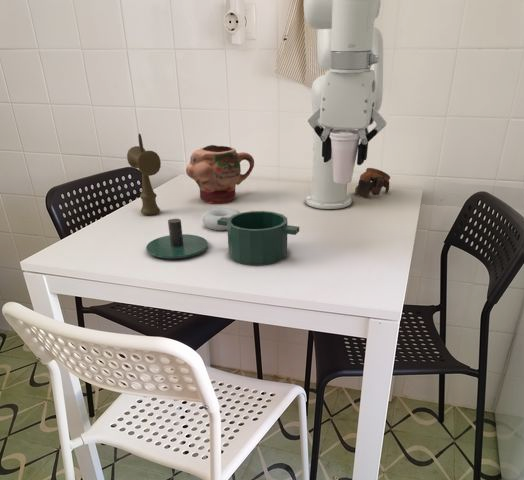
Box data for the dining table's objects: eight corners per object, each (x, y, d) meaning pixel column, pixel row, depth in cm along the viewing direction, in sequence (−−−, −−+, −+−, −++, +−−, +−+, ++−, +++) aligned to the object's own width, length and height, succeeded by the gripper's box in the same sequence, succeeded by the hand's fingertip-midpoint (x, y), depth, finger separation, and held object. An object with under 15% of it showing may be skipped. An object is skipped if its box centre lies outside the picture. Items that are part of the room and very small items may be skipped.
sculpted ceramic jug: (244, 188, 154) (242, 140, 147) (263, 198, 145) (262, 147, 138) (182, 198, 146) (177, 148, 139) (199, 209, 137) (194, 156, 130)
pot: (234, 239, 118) (232, 207, 114) (306, 249, 111) (307, 215, 107) (208, 258, 108) (205, 224, 104) (286, 271, 102) (286, 235, 98)
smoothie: (338, 187, 102) (343, 111, 94) (321, 179, 107) (324, 107, 99) (364, 182, 105) (370, 108, 97) (346, 175, 109) (351, 104, 101)
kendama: (146, 219, 131) (134, 137, 120) (133, 210, 138) (121, 132, 127) (168, 215, 133) (158, 134, 123) (154, 206, 140) (143, 129, 129)
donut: (197, 231, 123) (237, 232, 121) (196, 217, 121) (236, 218, 119) (209, 218, 131) (247, 219, 129) (208, 205, 129) (246, 206, 127)
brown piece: (347, 193, 149) (359, 166, 148) (374, 206, 152) (386, 179, 150) (363, 193, 138) (376, 163, 136) (392, 206, 141) (404, 178, 139)
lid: (168, 235, 120) (165, 208, 117) (218, 243, 116) (216, 214, 112) (134, 256, 110) (129, 226, 106) (188, 265, 105) (184, 234, 102)
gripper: (401, 61, 93) (389, 161, 103) (312, 60, 99) (309, 155, 109) (392, 64, 88) (381, 170, 98) (299, 63, 94) (297, 163, 104)
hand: (343, 161), depth 103 cm, fingers closed on smoothie, 6 cm apart
